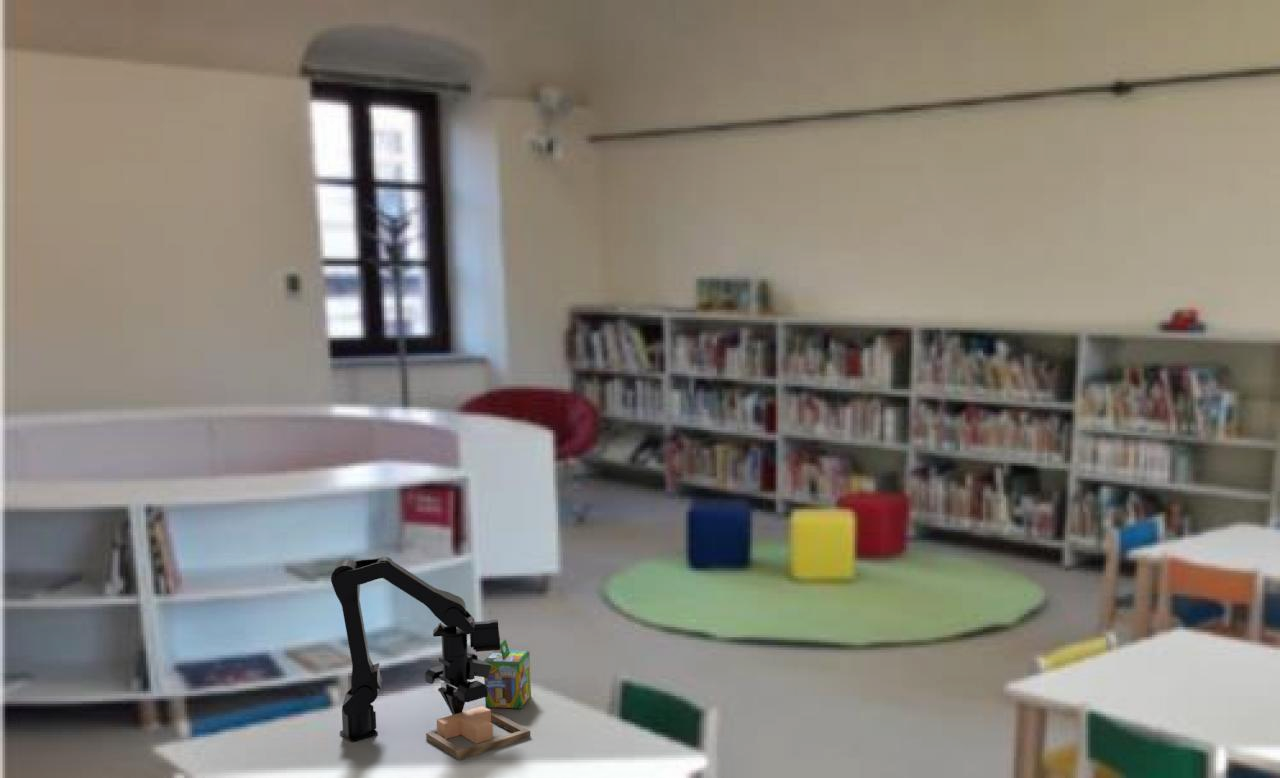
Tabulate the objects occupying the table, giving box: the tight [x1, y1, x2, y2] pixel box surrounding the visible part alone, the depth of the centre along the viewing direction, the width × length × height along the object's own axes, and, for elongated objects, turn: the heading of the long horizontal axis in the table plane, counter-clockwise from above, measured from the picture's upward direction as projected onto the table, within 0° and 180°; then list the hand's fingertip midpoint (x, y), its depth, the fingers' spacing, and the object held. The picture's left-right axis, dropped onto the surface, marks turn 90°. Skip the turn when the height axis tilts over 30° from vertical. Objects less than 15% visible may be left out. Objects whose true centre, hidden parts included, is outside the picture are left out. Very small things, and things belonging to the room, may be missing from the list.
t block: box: [436, 705, 494, 745], centre depth 252 cm, size 12×10×4 cm
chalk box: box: [483, 639, 532, 709], centre depth 270 cm, size 9×9×15 cm
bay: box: [425, 711, 531, 761], centre depth 249 cm, size 18×14×2 cm
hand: (457, 719), depth 256 cm, fingers closed
